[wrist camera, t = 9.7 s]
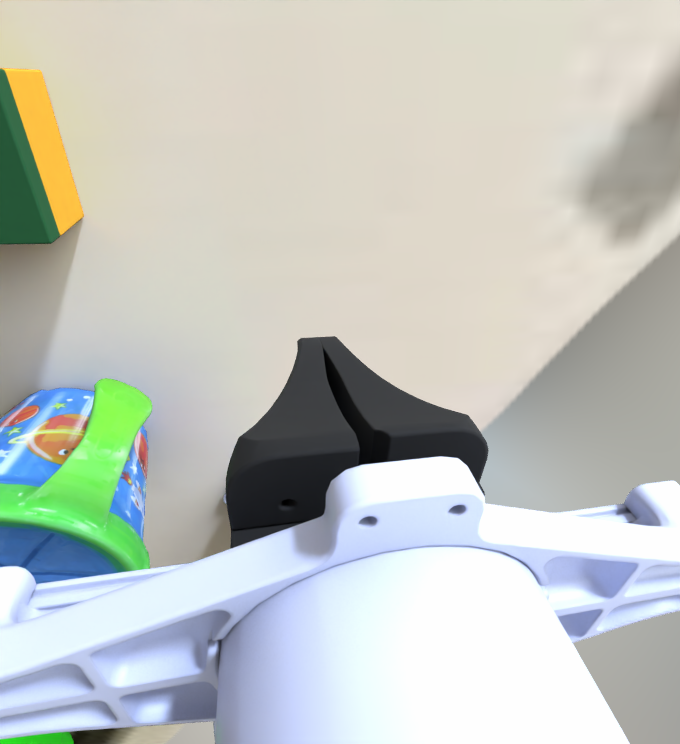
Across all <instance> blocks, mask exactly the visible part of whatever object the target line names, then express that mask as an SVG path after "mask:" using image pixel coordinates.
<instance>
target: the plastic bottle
mask: <svg viewBox="0 0 680 744" xmlns="http://www.w3.org/2000/svg"><path fill="white" fill-rule="evenodd" d="M0 744H74V742H73V739H72V737H71V735H70V733H69V732H59V733H48V734H39V735H31V736H23V737H16V738H8V739H1V740H0Z"/></svg>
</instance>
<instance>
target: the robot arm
mask: <svg viewBox="0 0 680 744" xmlns="http://www.w3.org/2000/svg"><path fill="white" fill-rule="evenodd" d="M297 342H298V352H297V357H296V360H295V364H294V367H293V370H292V372H291V374H290V377H289V379H288V381H287V383H286V385H285V387H284V389H283V391H282V392H281V394H280V396H279V397H278V399H277V400H276V401H275V403H274V404H273V406H272V407H271V408H270V409H269V411H268V412H267V413H266V414H265V415H264V416H263V417H262V418H261V419H260V420H259V421H258V422H257V423H256V424H255V425H254V426H253V427H252V428H251V429H249V430H248V431H247V432H246V433H244V434H243V435H242V436H240V437H239V438H238V441H237V443H236V446H235V448H234V451H233V453H232V456H231V459H230V463H229V467H228V471H227V476H226V493H225V495H224V497H223V501H224V503H226V504H227V509H228V515H229V520H230V526H231V549H229V550H226V551H223V552H220V553H217V554H214V555H212V556H209V557H206V558H203V559H200V560H198V561H195V562H192V563H186V564H179V565H172V566H164V567H157V568H150V569H142V570H135V571H128V572H120V573H113V574H106V575H99V576H91V577H84V578H77V579H69V580H62V581H55V582H47V583H40V584H36V582H35V579H34V577H33V576H32V574H31V573H30V572H29V571H28V570H26V569H25V568H22V567H18V566H5V567H0V740H1V739H8V738H16V737H23V736H31V735H39V734H48V733H59V732H70V731H81V730H95V729H109V728H124V727H138V726H153V725H167V724H181V723H195V722H208V721H209V722H210V721H213V725H214V737H215V744H630V743H629V742H628V740H627V738H626V736H625V735H624V733H623V731H622V729H621V728H620V726H619V724H618V722H617V720H616V719H615V717H614V715H613V714H612V712H611V710H610V708H609V707H608V705H607V703H606V701H605V699H604V698H603V696H602V695H601V692H600V691H599V689H598V687H597V685H596V684H595V682H594V680H593V678H592V677H591V675H590V673H589V672H588V670H587V668H586V666H585V665H584V663H583V661H582V659H581V657H580V656H579V654H578V652H577V650H576V649H575V647H574V645H573V643H574V642H577V641H580V640H583V639H586V638H589V637H592V636H595V635H598V634H601V633H604V632H607V631H610V630H613V629H616V628H620V627H623V626H626V625H629V624H632V623H636V622H639V621H642V620H645V619H649V618H653V617H656V616H660V615H664V614H668V613H672V612H677V611H680V485H678V484H677V483H676V482H675V481H663V482H655V483H647V484H642V485H639V486H637V487H635V488H633V489H632V490H631V491H630V492H629V494H628V495H627V497H626V499H625V502H624V504H617V505H610V506H603V507H596V508H588V509H582V510H574V511H566V512H559V513H550V512H542V511H536V510H528V509H521V508H514V507H506V506H499V505H492V504H485V497H484V496H485V494H484V491H483V489H482V487H481V485H480V483H479V482H480V479H481V476H482V473H483V469H484V466H485V463H486V461H487V456H488V446H487V442H486V440H485V439H484V437H483V436H482V434H481V433H480V431H479V429H478V428H477V426H476V425H475V424H474V422H473V421H472V420H471V419H470V417H469V416H468V415H466V414H462V413H459V412H455V411H451V410H448V409H444V408H441V407H438V406H436V405H433V404H430V403H428V402H425V401H423V400H421V399H418V398H416V397H414V396H412V395H410V394H408V393H406V392H404V391H402V390H400V389H398V388H397V387H395V386H393V385H392V384H390V383H389V382H387V381H385V380H384V379H382V378H381V377H380V376H378V375H377V374H376V373H374V372H373V371H372V370H370V369H369V368H368V367H367V366H366V365H364V364H363V363H362V362H361V361H360V360H359V359H358V358H357V357H356V356H354V355H353V354H352V353H351V352H350V351H349V350H348V349H347V348H346V347H345V346H344V345H343V344H342V342H341V341H340V340H339V339H337V338H336V337H335V336H333V337H315V338H301V339H299V340H298V341H297Z"/></svg>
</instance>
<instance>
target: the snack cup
mask: <svg viewBox="0 0 680 744" xmlns="http://www.w3.org/2000/svg"><path fill="white" fill-rule="evenodd" d="M94 388H95V392H92V391H87V390H81V389H73V388H58V389H54V390H49V391H46V390H40V391H38V392H36V393H34V394H31V395H30V396H29V397H27V398H26V399H25V400H23V401H22V402H21V403H19V404H18V405H16V406H15V407H13V408H12V409H11V410H10V411H9V412H8V413H6V414H5V415H4V416H3V417H2V418H1V419H0V567H5V566H18V567H22V568H25V569H26V570H28V571H29V572H30V573H31V574H32V576H33V577H34V579H35V582H36V584H40V583H47V582H55V581H62V580H69V579H77V578H84V577H91V576H99V575H106V574H113V573H120V572H128V571H135V570H142V569H150V560H149V555H148V551H147V550H146V547H145V545H144V543H143V531H144V515H145V496H146V478H147V462H148V440H147V433H146V430H145V429H144V427H143V424H144V422H145V421H146V419H147V418H148V417H149V416H150V414H151V412H152V403H151V400H150V399H149V398H148V397H147V396H146V395H144V394H143V393H142V392H141V391H139V390H138V389H136V388H135V387H131V386H129V385H127V384H125V383H123V382H120V381H117V380H113V379H107V378H105V379H101V380H99V381H98V382H97V383H96V384H95V386H94Z"/></svg>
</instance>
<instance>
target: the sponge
mask: <svg viewBox="0 0 680 744" xmlns="http://www.w3.org/2000/svg"><path fill="white" fill-rule="evenodd" d="M83 217H84V214H83V211H82V207H81V204H80V201H79V197H78V194H77V190H76V187H75V184H74V180H73V177H72V173H71V170H70V167H69V163H68V160H67V157H66V153H65V150H64V146H63V143H62V140H61V136H60V133H59V129H58V126H57V123H56V119H55V116H54V112H53V109H52V106H51V102H50V99H49V96H48V92H47V89H46V85H45V82H44V79H43V75H42V72H41V71H40V70H29V69H8V68H0V244H51V243H53V242H54V241H55V240H56V239H57V238H59V237H60V236H61V235H62V234H64V233H65V232H66V231H67V230H68V229H69V228H71V227H72V226H73V225H74V224H75V223H77V222H78V221H79V220H80V219H81V218H83Z"/></svg>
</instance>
